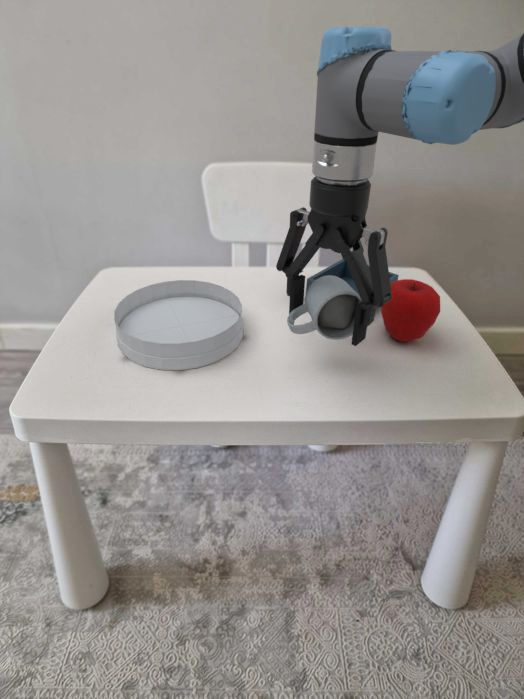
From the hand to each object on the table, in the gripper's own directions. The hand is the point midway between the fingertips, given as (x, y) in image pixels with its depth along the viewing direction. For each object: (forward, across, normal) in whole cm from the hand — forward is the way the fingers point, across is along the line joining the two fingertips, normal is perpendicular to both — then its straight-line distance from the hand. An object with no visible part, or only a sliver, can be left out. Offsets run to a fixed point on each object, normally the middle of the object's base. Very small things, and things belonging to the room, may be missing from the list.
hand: (325, 327), depth 69 cm
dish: (+7, -24, -8) cm, 27 cm away
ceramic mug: (0, 0, 0) cm, 1 cm away
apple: (+8, +6, +18) cm, 20 cm away
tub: (+7, -9, +23) cm, 26 cm away
